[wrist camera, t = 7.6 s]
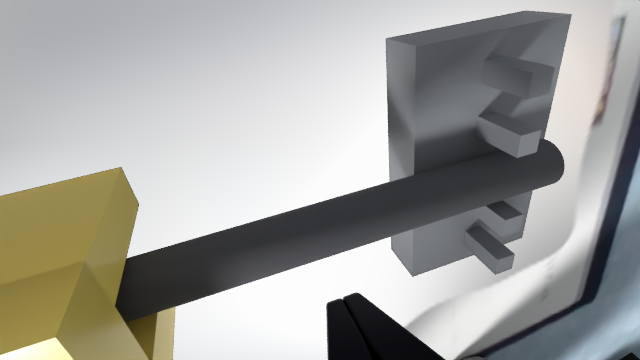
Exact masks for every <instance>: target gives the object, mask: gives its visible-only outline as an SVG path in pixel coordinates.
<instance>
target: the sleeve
mask: <svg viewBox="0 0 640 360" xmlns="http://www.w3.org/2000/svg"><path fill="white" fill-rule="evenodd" d="M138 207H139V203H138V201H137V199H136V197H135V195H134V193H133V190H132V188H131V187H130V184H129V182H128V180H127V178H126V176H125V174H124V172H123V170H122V168H121V167H119V168H115V169H111V170H107V171H102V172H99V173H94V174H90V175H86V176H82V177H77V178H73V179H69V180H65V181H61V182H57V183H53V184H48V185H44V186H40V187H36V188H32V189H28V190H23V191H19V192H15V193H11V194H7V195H3V196H0V360H173V343H174V322H175V307H173V308H170V309H167V310H163V311H160V312H157V313H154V314H151V315H148V316H145V317H142V318H139V319H136V320H133V321H130V322H127V323H125V322H124V320H123V318H122V317H121V315H120V314H119V312H118V311H117V309H116V308H115V303H116V299H117V295H118V291H119V287H120V282H121V278H122V274H123V270H124V266H125V261H126V257H127V253H128V248H129V244H130V240H131V236H132V232H133V228H134V223H135V219H136V215H137V211H138Z"/></svg>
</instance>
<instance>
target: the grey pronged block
mask: <svg viewBox="0 0 640 360" xmlns="http://www.w3.org/2000/svg"><path fill="white" fill-rule="evenodd" d="M570 20H571V14H562V13H549V12H535V11H522V12H517V13H512V14H507V15H502V16H497V17H492V18H486V19H482V20H476V21H472V22H466V23H461V24H456V25H452V26H447V27H441V28H436V29H431V30H427V31H421V32H416V33H412V34H406V35H401V36H396V37H392V38H386V63H387V64H386V65H387V101H388V137H389V172H390V182H391V181H395V180H398V179H402V178H405V177H408V176H412V175H415V174H419V173H422V172H426V171H429V170H433V169H436V168H439V167H443V166H446V165H450V164H453V163H457V162H460V161H463V160H467V159H470V158H474V157H477V156H481V155H484V154H488V153H491V152H494V151H498V150H502V151H504V152H506V153H508V154H510V155H512V156H514V157H516V158H519V157H522V156H526V155H529V154H532V153H536V152H537V149H538V144H539V139H544V137H545V132H546V127H547V123H548V119H549V114H550V110H551V105H552V101H553V96H554V92H555V87H556V83H557V78H558V74H559V69H560V65H561V60H562V56H563V51H564V46H565V42H566V38H567V33H568V29H569V24H570ZM531 195H532V191H529V192H526V193H523V194H519V195H516V196H513V197H510V198H507V199H504V200H501V201H498V202H495V203H492V204H489V205H486V206H483V207H480V208H476V209H473V210H470V211H467V212H464V213H461V214H458V215H455V216H452V217H449V218H446V219H443V220H440V221H437V222H434V223H430V224H427V225H424V226H421V227H418V228H415V229H412V230H409V231H406V232H403V233H400V234H397V235H394V236H391V247H392V250H393V252H394V253H395V254H396V256H397V257H398V258H399V260H400V261H401V262H402V264H403V265H404V266H405V268H406V269H407V270H408V271H409V273H410V274H411V275H412V276H416V275H418V274H422V273H424V272H427V271H430V270H433V269H436V268H438V267H441V266H444V265H447V264H450V263H452V262H455V261H458V260H461V259H464V258H466V257H469V256H472V255H475V256H476V257H477V258H478V259H479V260H480V261H481V262H482V263H484V264H485V265H486V266H487V267H488V268H489V269H490V270H491V271H492V272H493V273H494V274H495V275H496V274H498V273H501V272H503V271H506V270H509V269H511V268H512V264H513V260H514V253H513V252H511V251H510V250H509V249H508V248H507V247H505V246H504V245H503V244H506V243H508V242H511V241H514V240H517V239H520V238H522V235H523V231H524V226H525V222H526V217H527V213H528V208H529V204H530V199H531Z"/></svg>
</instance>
